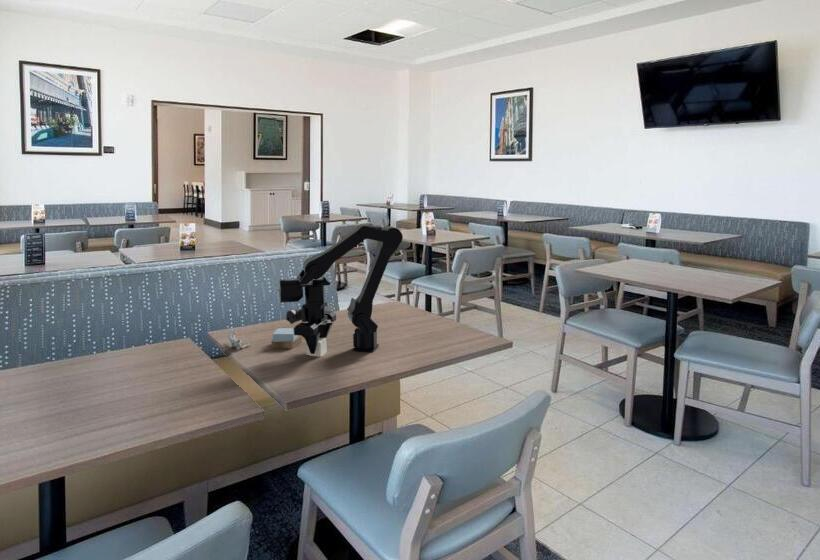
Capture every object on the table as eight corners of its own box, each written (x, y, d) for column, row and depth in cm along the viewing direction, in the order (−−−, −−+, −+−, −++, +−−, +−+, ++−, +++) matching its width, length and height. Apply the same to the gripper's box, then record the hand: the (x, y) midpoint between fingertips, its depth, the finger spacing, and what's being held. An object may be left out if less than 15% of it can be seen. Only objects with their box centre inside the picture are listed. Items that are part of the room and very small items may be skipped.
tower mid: (298, 335, 188) (297, 328, 188) (293, 341, 182) (293, 334, 181) (278, 335, 188) (278, 328, 188) (273, 341, 182) (272, 334, 182)
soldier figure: (248, 343, 190) (254, 342, 180) (239, 355, 189) (244, 354, 178) (230, 328, 189) (234, 326, 178) (219, 340, 187) (223, 338, 176)
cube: (326, 352, 178) (326, 338, 177) (320, 356, 174) (320, 342, 173) (313, 351, 179) (312, 337, 178) (307, 355, 175) (306, 341, 174)
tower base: (301, 343, 188) (301, 336, 187) (292, 350, 181) (291, 342, 181) (281, 342, 190) (281, 335, 189) (271, 348, 183) (271, 341, 182)
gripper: (303, 292, 184) (305, 339, 187) (275, 306, 166) (278, 358, 169) (336, 294, 181) (337, 342, 184) (311, 308, 163) (313, 361, 167)
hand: (316, 350), depth 176 cm, fingers open, 6 cm apart
